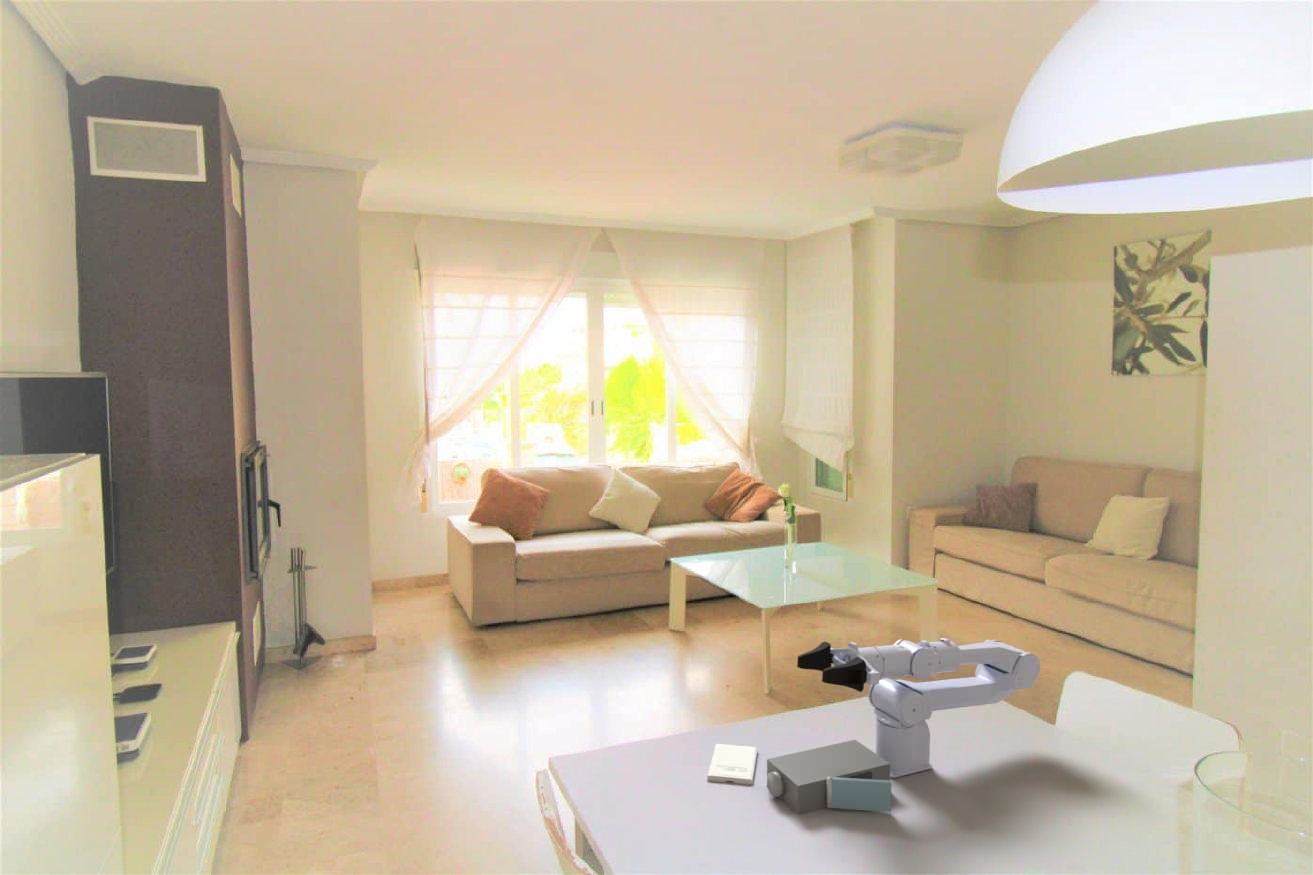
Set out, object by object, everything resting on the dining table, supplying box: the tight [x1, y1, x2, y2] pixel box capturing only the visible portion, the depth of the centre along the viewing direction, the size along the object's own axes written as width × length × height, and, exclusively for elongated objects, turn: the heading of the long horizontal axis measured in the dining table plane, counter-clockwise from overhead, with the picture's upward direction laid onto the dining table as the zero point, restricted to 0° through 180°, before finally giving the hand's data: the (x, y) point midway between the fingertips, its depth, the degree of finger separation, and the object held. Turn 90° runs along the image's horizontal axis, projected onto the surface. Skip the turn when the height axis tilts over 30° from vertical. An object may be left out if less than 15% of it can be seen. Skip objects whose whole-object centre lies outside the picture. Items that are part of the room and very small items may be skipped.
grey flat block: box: [766, 739, 891, 815], centre depth 140 cm, size 20×10×5 cm, turn 113°
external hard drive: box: [706, 743, 758, 785], centre depth 149 cm, size 2×8×12 cm
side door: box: [826, 777, 892, 812], centre depth 133 cm, size 10×1×5 cm, turn 83°
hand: (810, 668), depth 140 cm, fingers open, 7 cm apart
